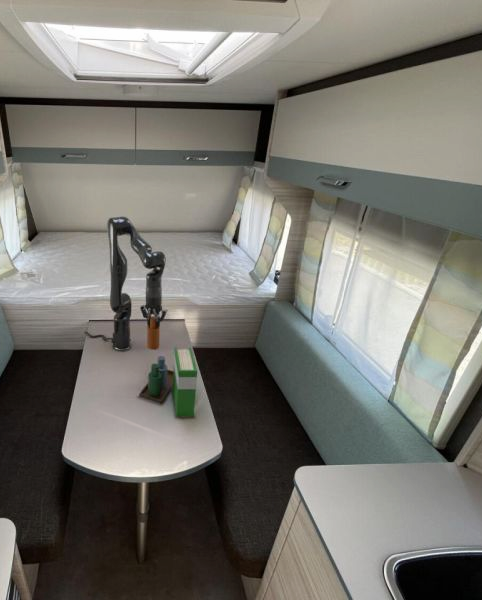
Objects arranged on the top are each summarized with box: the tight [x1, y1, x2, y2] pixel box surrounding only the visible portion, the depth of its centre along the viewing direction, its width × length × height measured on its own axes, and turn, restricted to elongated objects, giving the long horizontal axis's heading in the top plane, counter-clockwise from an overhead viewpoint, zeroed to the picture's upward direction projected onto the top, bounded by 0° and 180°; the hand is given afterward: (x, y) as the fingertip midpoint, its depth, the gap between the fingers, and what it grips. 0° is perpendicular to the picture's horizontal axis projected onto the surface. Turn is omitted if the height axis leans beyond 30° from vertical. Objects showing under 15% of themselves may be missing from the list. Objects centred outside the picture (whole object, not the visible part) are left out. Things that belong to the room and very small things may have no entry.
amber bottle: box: [146, 315, 161, 351], centre depth 160 cm, size 6×6×16 cm
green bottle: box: [147, 363, 161, 398], centre depth 150 cm, size 6×6×16 cm
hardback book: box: [172, 347, 198, 418], centre depth 143 cm, size 18×7×24 cm, turn 1°
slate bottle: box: [157, 355, 168, 390], centre depth 155 cm, size 6×6×16 cm
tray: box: [138, 369, 174, 405], centre depth 158 cm, size 11×23×2 cm, turn 153°
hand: (153, 326), depth 158 cm, fingers closed on amber bottle, 3 cm apart
